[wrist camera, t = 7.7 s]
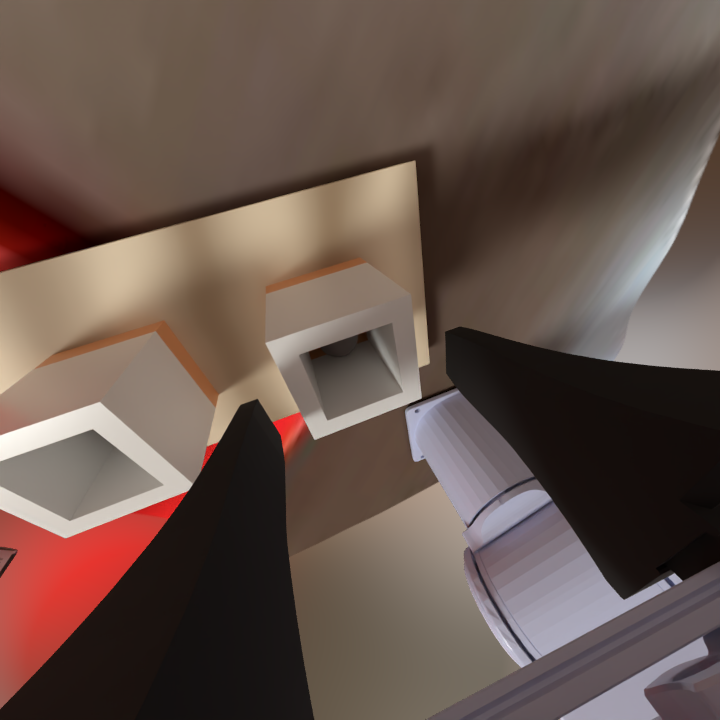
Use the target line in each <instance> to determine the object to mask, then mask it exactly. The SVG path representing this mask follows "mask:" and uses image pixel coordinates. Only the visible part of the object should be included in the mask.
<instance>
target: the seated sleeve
mask: <svg viewBox="0 0 720 720" xmlns="http://www.w3.org/2000/svg"><path fill="white" fill-rule="evenodd" d="M218 396H219V394H218V393H217V391H216V390H215V388H214V387H213V386H212V384H211V383H210V382H209V380H208V379H207V378H206V376H205V375H204V374H203V372H202V371H201V369H200V368H199V367H198V365H197V364H196V363H195V361H194V360H193V359H192V357H191V356H190V355H189V353H188V352H187V351H186V349H185V348H184V346H183V345H182V344H181V342H180V341H179V340H178V338H177V337H176V336H175V334H174V333H173V332H172V330H171V329H170V327H169V326H168V325H167V323H166V322H165V321H164V320H163V321H160V322H157V323H154V324H151V325H147V326H144V327H141V328H138V329H134V330H131V331H128V332H125V333H122V334H118V335H115V336H112V337H109V338H105V339H102V340H99V341H96V342H93V343H89V344H86V345H83V346H80V347H76V348H73V349H70V350H67V351H64V352H60V353H57V354H54V355H51V356H50V357H49V358H48V359H46V360H45V361H44V362H42V363H41V364H40V365H38V366H37V367H36V368H35V369H33V370H32V371H31V372H29V373H28V374H27V375H25V376H24V377H23V378H22V379H20V380H19V381H18V382H16V383H15V384H14V385H12V386H11V387H10V388H8V389H7V390H6V391H5V392H3V393H2V394H1V395H0V509H1V510H3V511H5V512H8V513H10V514H12V515H15V516H17V517H19V518H21V519H23V520H26V521H28V522H30V523H32V524H34V525H37V526H39V527H41V528H44V529H46V530H48V531H50V532H53V533H54V534H57V535H59V536H61V537H63V538H68V537H70V536H73V535H76V534H78V533H81V532H83V531H86V530H88V529H91V528H94V527H96V526H99V525H101V524H104V523H106V522H109V521H112V520H114V519H117V518H119V517H122V516H124V515H127V514H130V513H132V512H135V511H138V510H140V509H143V508H145V507H148V506H150V505H153V504H156V503H158V502H161V501H163V500H166V499H168V498H171V497H174V496H176V495H179V494H181V493H184V492H187V491H189V489H190V488H191V486H192V485H193V483H194V482H195V480H196V478H197V477H198V475H199V474H200V472H201V469H202V464H203V460H204V456H205V452H206V447H207V443H208V439H209V435H210V430H211V426H212V422H213V417H214V413H215V409H216V405H217V400H218Z"/></svg>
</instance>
